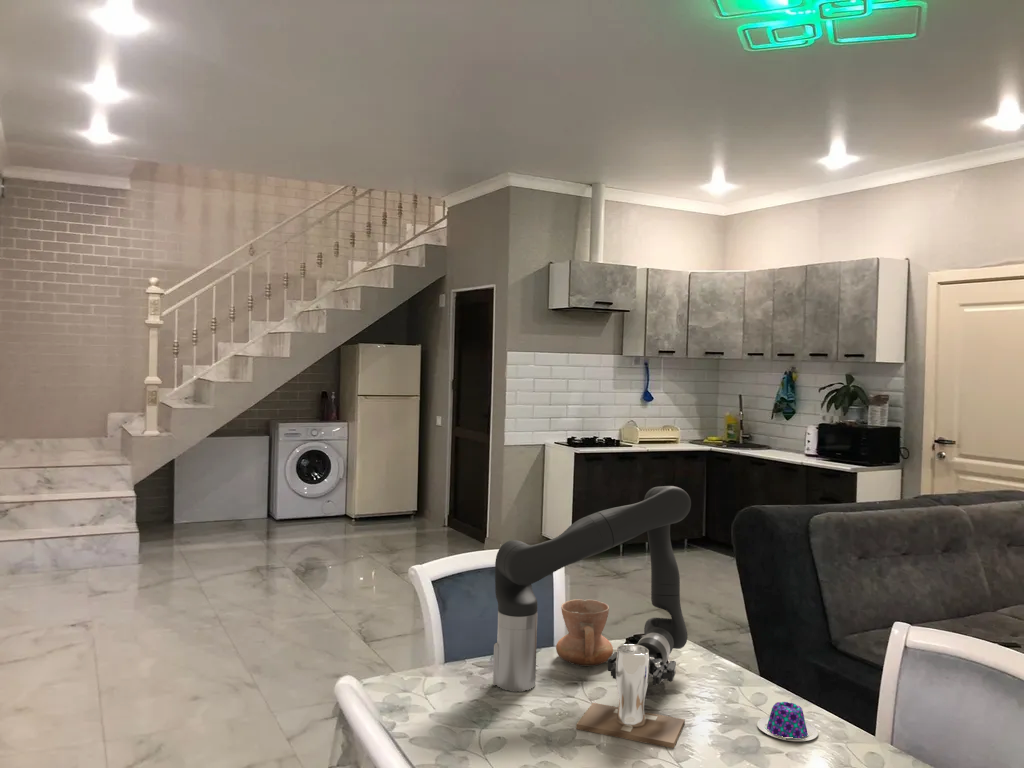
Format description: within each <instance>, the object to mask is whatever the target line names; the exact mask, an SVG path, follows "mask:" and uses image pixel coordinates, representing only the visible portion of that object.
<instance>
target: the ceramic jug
mask: <svg viewBox="0 0 1024 768" xmlns="http://www.w3.org/2000/svg"><path fill="white" fill-rule="evenodd" d="M560 606H561V607H560V610H561V614H562V619H563V620H564V621H563V622H564V624H565V627H566V629H567V631H568V633H566V635H563V637H561V638H560V639H559V640H558V641H557V643H556V646H555V649H556V650H555V651H556V653H557V655H558V657H560V659H561V660H563V661H565V662H566V663H567V662H568V663H569V664H572V665H576V666H582V667H592V666H599V665H601V664H604V663H606V662H608V658H609V657H610V656H611V655H613V654H614V649H613V648H614V647H613V645H612V643H611V641H609V639H607V638H606V637H605V636H603V635H602V633H603V632H604V628H605V626H606V623H607V620H608V618H609V611H610V607H609V604H607V603H605V602H602V601H599V600H597V599H589V598H588V599H585V600H584V599H582V598H580V599H579V598H578V599H577V598H576V599H571V600H566V601H565V602H564V603H562V604H561V605H560Z"/></svg>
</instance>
